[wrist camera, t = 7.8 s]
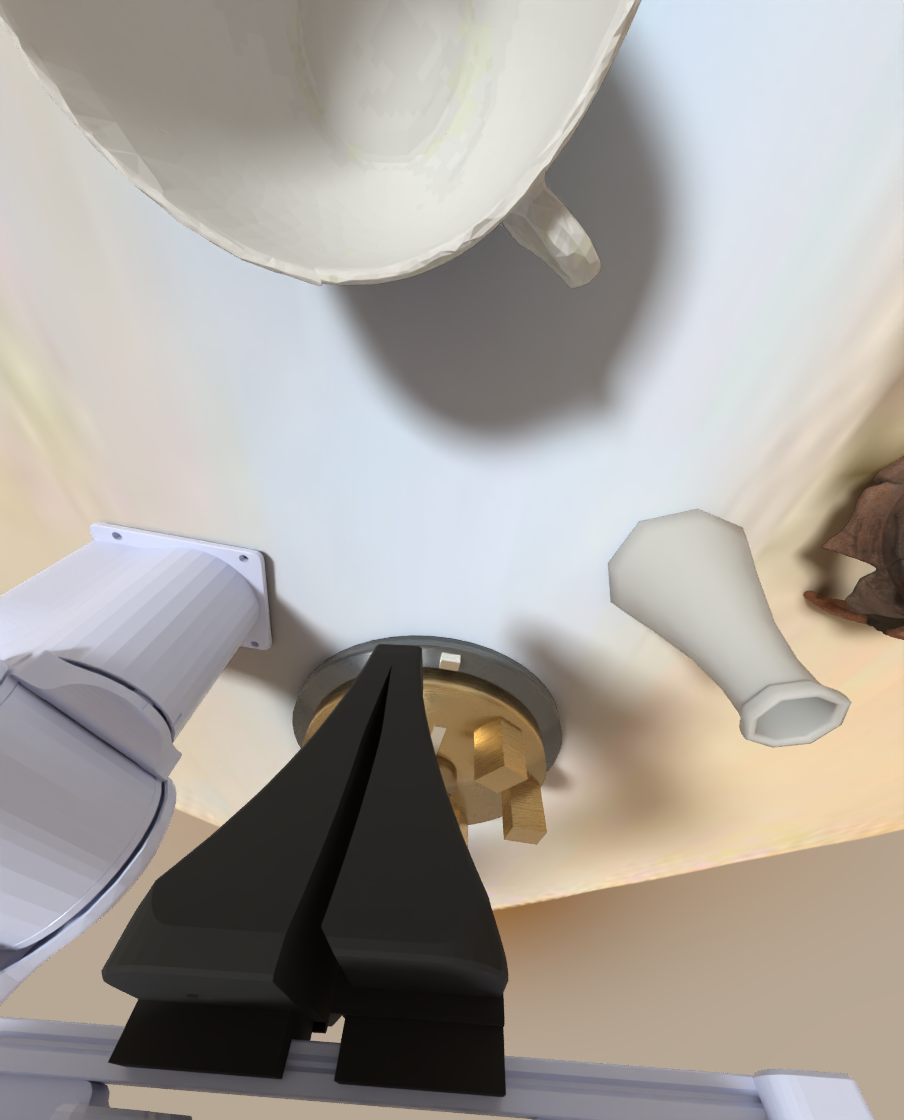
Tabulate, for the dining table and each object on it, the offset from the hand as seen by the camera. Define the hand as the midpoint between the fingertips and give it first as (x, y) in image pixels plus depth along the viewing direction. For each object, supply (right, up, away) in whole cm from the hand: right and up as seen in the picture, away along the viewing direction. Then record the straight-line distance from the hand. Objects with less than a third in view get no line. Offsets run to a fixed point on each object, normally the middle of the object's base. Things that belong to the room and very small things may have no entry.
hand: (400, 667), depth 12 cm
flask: (+14, +3, +10) cm, 17 cm away
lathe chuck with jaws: (0, -11, +18) cm, 21 cm away
